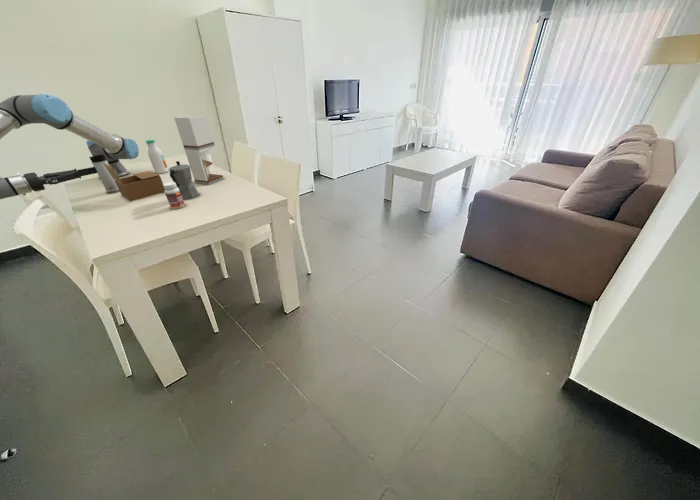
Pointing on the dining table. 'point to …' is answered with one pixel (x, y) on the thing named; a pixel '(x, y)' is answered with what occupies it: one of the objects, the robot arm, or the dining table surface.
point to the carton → (140, 185)
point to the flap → (112, 173)
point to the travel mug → (104, 173)
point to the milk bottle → (156, 157)
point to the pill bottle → (173, 195)
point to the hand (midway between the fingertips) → (96, 169)
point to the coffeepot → (183, 180)
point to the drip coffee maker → (197, 146)
